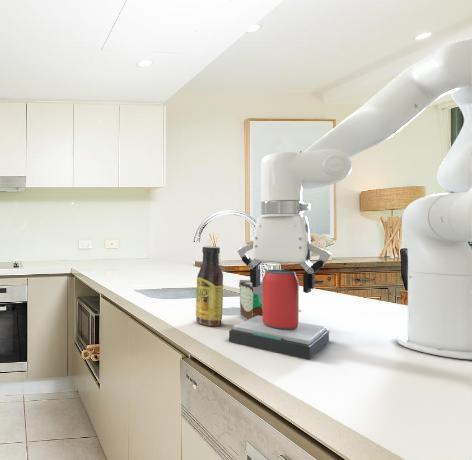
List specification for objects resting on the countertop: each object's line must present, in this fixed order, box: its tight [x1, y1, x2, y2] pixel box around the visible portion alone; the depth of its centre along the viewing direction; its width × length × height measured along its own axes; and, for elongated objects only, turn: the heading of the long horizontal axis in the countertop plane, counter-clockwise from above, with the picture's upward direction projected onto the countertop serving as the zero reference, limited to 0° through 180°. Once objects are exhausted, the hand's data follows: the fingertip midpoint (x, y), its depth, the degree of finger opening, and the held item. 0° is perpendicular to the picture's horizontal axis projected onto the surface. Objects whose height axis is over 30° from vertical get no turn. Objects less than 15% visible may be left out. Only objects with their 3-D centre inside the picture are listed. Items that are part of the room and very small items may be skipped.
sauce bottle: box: [195, 245, 224, 327], centre depth 91 cm, size 6×6×20 cm
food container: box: [238, 279, 263, 321], centre depth 95 cm, size 12×6×10 cm, turn 168°
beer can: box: [262, 269, 300, 330], centre depth 77 cm, size 7×7×12 cm
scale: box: [228, 316, 330, 360], centre depth 77 cm, size 17×14×3 cm
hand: (280, 289), depth 77 cm, fingers open, 9 cm apart
